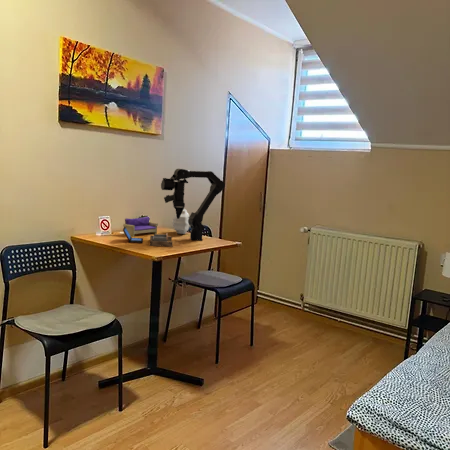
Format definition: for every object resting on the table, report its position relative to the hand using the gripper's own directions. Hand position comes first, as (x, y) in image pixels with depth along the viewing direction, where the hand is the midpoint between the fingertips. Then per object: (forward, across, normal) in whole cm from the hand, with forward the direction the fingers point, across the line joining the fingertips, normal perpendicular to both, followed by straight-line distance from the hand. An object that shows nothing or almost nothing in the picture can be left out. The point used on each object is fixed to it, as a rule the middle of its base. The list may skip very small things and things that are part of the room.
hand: (177, 217), depth 265 cm
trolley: (+13, +13, -10) cm, 21 cm away
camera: (+13, -24, +3) cm, 27 cm away
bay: (+13, +13, -9) cm, 20 cm away
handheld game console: (+14, +10, -24) cm, 30 cm away
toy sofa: (+14, -14, -21) cm, 29 cm away
